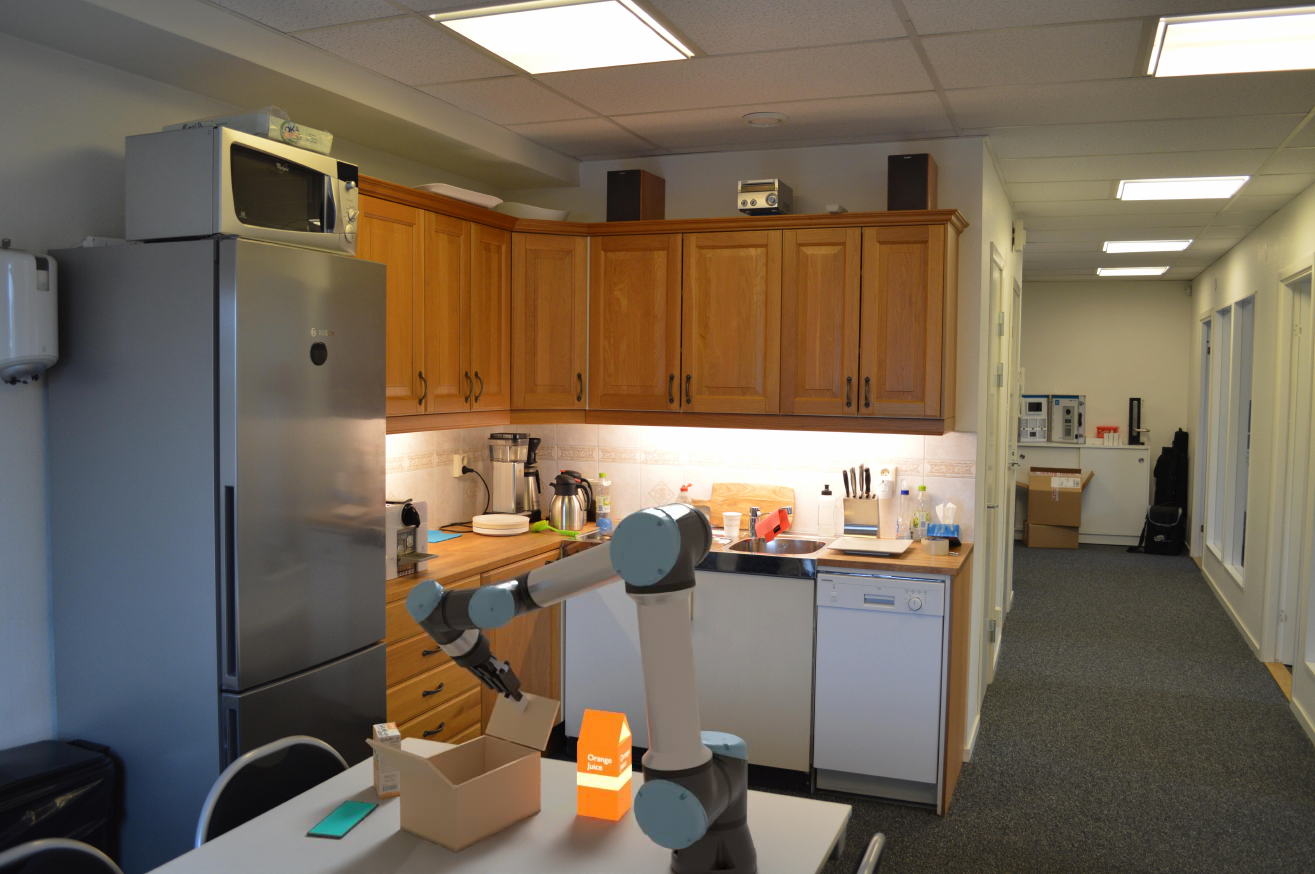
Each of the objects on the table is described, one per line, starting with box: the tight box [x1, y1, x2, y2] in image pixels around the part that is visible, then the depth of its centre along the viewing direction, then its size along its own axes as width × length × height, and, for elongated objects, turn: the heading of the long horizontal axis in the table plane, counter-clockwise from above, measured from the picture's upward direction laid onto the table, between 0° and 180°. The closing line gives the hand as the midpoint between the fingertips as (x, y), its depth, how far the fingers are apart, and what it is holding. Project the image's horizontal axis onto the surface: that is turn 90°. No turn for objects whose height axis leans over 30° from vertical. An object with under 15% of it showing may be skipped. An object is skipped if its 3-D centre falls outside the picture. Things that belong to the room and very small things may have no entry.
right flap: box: [484, 690, 561, 752], centre depth 193 cm, size 17×10×1 cm
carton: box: [399, 734, 542, 853], centre depth 182 cm, size 16×22×12 cm
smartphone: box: [306, 800, 380, 840], centre depth 182 cm, size 7×1×15 cm
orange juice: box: [576, 709, 633, 822], centre depth 187 cm, size 8×9×20 cm
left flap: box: [365, 738, 456, 790], centre depth 170 cm, size 17×10×1 cm
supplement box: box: [372, 721, 402, 800], centre depth 196 cm, size 8×5×13 cm, turn 25°
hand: (523, 706), depth 193 cm, fingers closed
